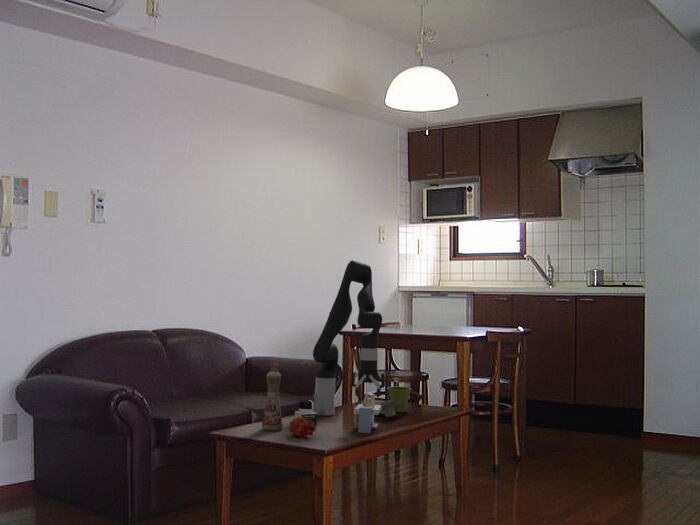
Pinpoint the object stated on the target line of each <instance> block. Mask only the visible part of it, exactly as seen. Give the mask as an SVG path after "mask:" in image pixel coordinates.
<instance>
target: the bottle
mask: <svg viewBox="0 0 700 525" xmlns="http://www.w3.org/2000/svg"><path fill="white" fill-rule="evenodd" d="M269 366H270V367H269V368H270V371H268V372H267V373H266V376H265V377H266V387H267V394H266V395H267V396H266V399H265V406H264V410H263V416H262V417H263V418H262V421H261V422H262V423H261V428H262V429H263V431H271V432H274V431H281V430H283V427H284V424H283V418H282V410H281V402H280V395H279V394H280V393H279V391H280V384H281V379H282V374H281V373H280V372H279V363H278V362H275V361H274V362H270V364H269Z"/></svg>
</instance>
